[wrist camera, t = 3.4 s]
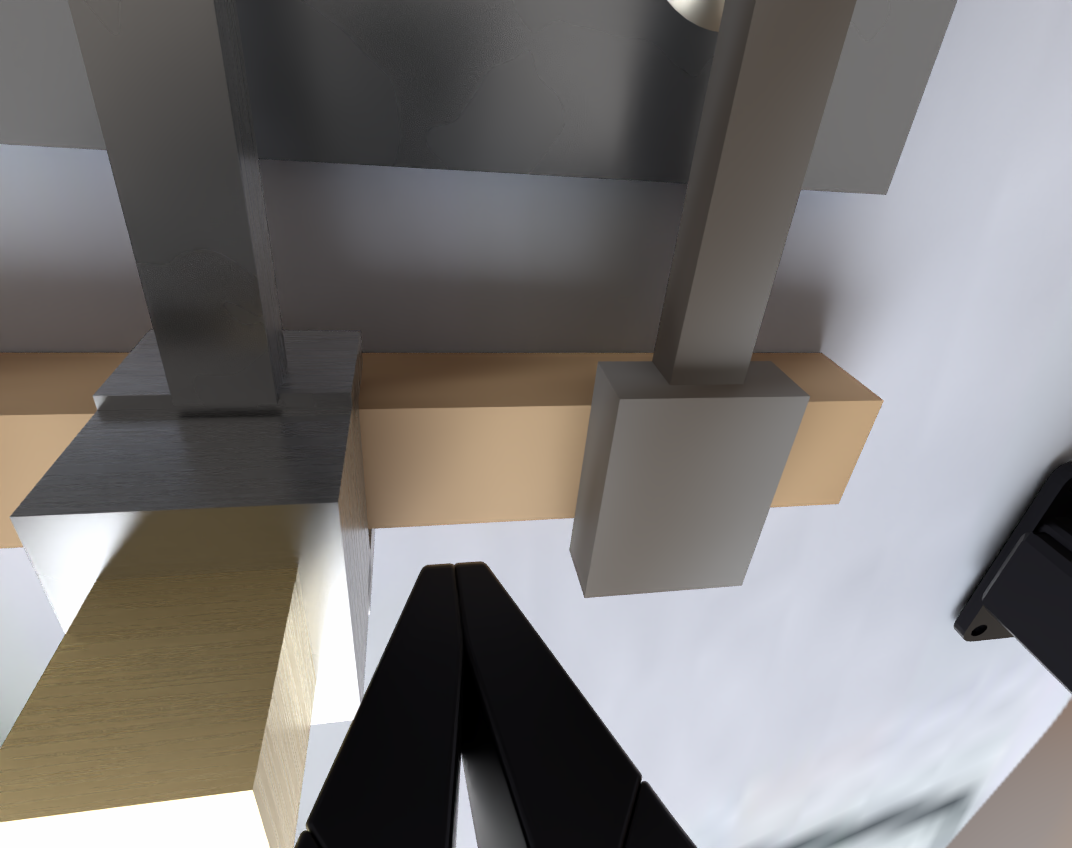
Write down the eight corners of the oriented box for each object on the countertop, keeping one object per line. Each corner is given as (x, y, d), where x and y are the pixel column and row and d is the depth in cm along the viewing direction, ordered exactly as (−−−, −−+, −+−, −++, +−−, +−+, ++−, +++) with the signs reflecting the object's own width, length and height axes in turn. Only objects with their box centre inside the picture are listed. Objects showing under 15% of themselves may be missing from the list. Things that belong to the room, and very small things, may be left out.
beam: (983, -97, 9) (1225, -152, 6) (777, 476, 14) (861, 575, 12) (-852, -406, 5) (-2110, -844, 3) (-201, 517, 11) (-399, 675, 8)
